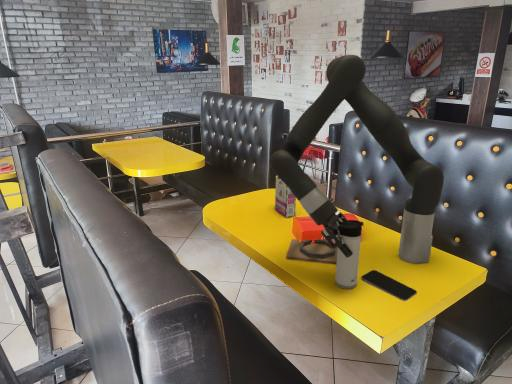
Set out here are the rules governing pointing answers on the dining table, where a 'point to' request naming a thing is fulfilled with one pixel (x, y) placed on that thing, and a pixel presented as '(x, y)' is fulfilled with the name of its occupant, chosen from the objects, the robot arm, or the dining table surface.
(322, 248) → the mug holder board
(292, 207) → the candy bar box
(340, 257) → the travel mug
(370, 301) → the dining table surface
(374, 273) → the smartphone
